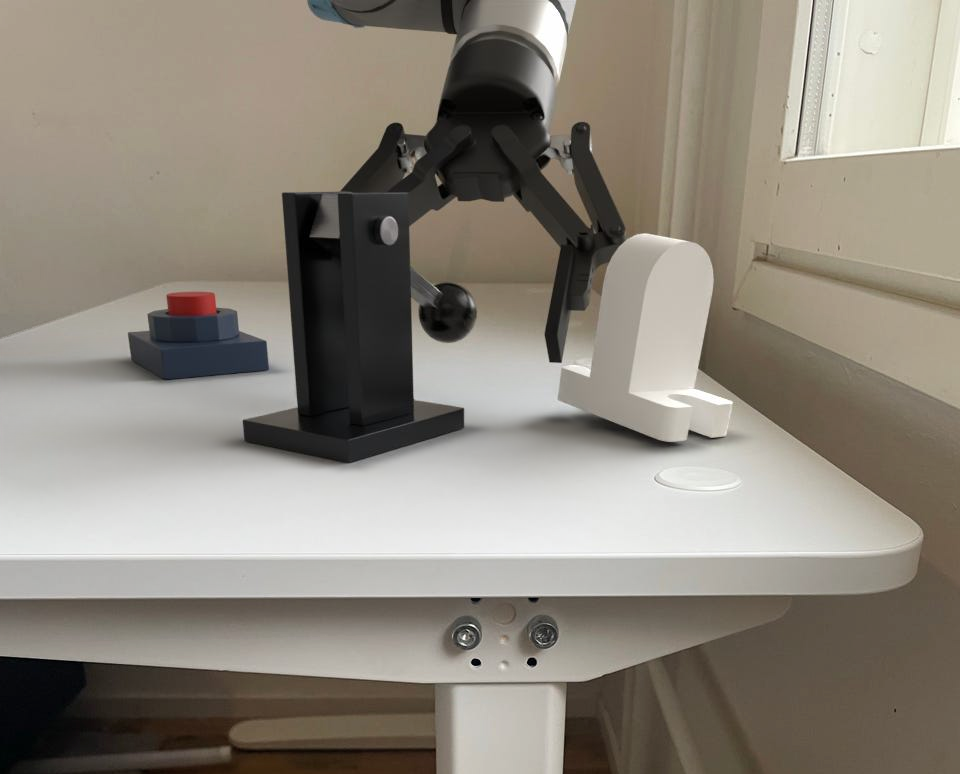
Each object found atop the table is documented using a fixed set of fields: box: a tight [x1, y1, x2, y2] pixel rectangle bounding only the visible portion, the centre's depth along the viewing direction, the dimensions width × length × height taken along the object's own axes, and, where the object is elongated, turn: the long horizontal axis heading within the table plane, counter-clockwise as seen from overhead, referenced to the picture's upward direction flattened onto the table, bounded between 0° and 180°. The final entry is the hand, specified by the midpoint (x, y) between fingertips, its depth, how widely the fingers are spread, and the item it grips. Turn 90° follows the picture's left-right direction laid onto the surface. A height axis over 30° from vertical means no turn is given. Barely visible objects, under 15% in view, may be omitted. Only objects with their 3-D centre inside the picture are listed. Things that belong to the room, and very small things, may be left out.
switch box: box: [127, 307, 270, 381], centre depth 79 cm, size 10×8×4 cm
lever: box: [309, 194, 478, 344], centre depth 59 cm, size 13×4×4 cm
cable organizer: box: [557, 232, 734, 443], centre depth 59 cm, size 5×10×10 cm, turn 35°
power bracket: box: [242, 190, 465, 463], centre depth 56 cm, size 10×8×13 cm
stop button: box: [165, 291, 217, 316], centre depth 78 cm, size 4×4×2 cm
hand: (443, 344), depth 62 cm, fingers open, 13 cm apart
